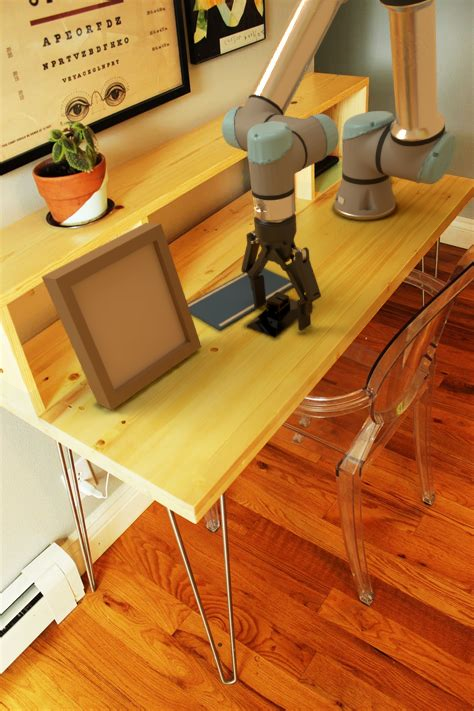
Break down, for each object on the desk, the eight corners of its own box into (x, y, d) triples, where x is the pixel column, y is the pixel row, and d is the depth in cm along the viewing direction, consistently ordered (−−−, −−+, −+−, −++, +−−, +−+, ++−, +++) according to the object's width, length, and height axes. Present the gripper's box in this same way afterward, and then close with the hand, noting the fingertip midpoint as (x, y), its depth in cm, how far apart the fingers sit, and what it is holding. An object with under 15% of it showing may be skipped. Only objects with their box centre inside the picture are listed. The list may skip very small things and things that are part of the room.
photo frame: (202, 350, 119) (183, 231, 104) (113, 414, 107) (77, 290, 92) (151, 324, 128) (126, 210, 112) (63, 380, 116) (22, 262, 100)
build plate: (275, 338, 120) (273, 319, 118) (245, 327, 124) (243, 307, 121) (310, 307, 128) (310, 287, 125) (281, 297, 132) (280, 278, 129)
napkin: (257, 266, 142) (257, 265, 142) (296, 284, 135) (296, 283, 134) (182, 308, 131) (181, 306, 131) (219, 330, 124) (219, 328, 124)
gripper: (215, 205, 117) (227, 303, 131) (310, 240, 102) (314, 347, 116) (244, 192, 121) (253, 288, 134) (340, 224, 106) (340, 329, 119)
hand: (281, 316), depth 125 cm, fingers open, 12 cm apart
